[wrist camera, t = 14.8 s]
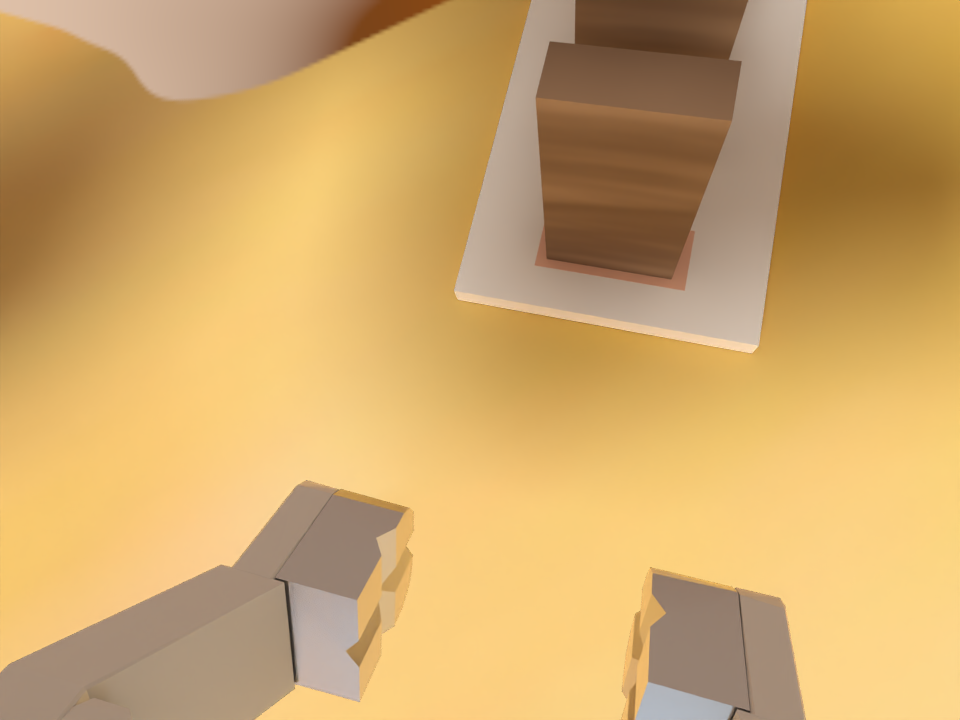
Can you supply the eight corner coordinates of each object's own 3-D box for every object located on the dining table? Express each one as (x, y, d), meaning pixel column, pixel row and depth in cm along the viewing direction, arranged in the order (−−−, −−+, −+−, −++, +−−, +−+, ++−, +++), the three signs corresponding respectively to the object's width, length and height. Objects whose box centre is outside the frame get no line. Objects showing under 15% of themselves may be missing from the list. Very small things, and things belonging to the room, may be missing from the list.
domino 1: (692, 168, 27) (760, -39, 18) (573, 152, 28) (576, -53, 19) (699, 131, 28) (769, -90, 18) (581, 116, 29) (588, -102, 19)
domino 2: (671, 279, 26) (731, 121, 16) (546, 258, 27) (535, 97, 17) (678, 238, 26) (741, 61, 17) (555, 219, 27) (550, 41, 18)
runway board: (457, 299, 28) (453, 290, 27) (578, -159, 34) (579, -180, 33) (751, 353, 26) (758, 345, 25) (822, -147, 32) (830, -169, 31)
